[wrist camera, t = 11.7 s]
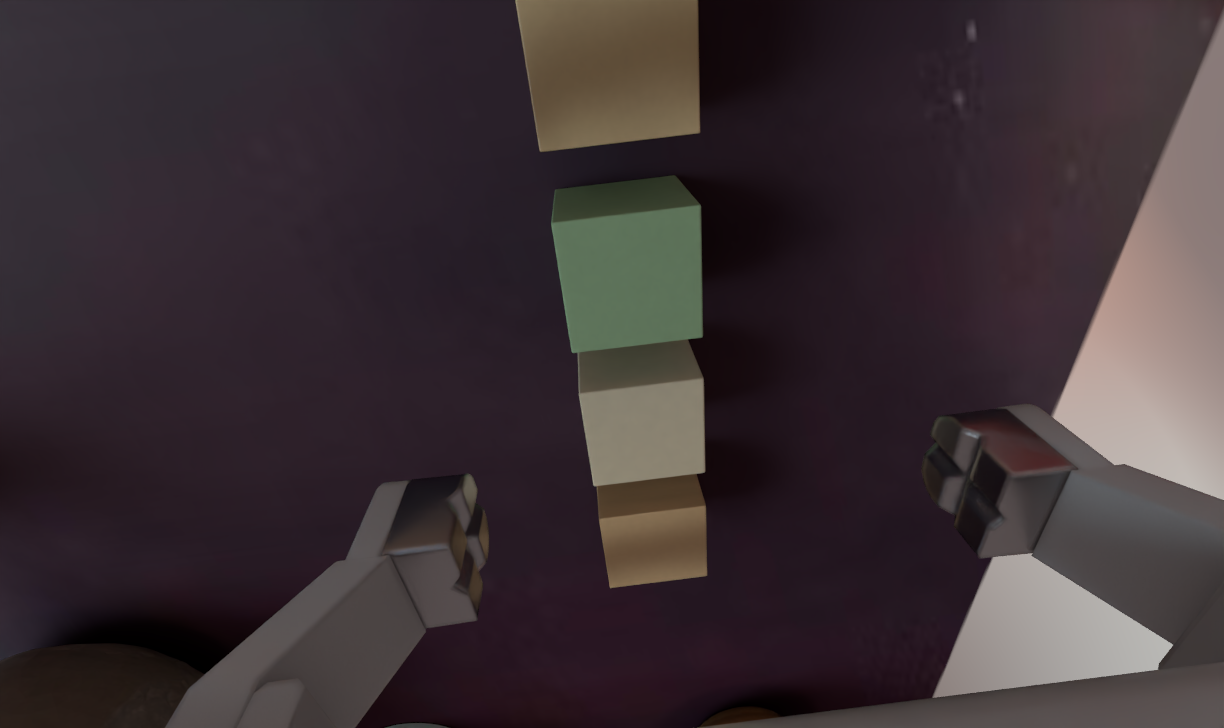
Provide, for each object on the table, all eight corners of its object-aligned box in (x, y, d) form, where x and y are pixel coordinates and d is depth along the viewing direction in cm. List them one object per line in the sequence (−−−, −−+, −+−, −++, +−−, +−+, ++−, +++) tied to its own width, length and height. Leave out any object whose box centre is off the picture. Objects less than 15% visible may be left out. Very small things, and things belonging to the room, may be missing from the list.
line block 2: (577, 335, 25) (578, 393, 21) (681, 323, 25) (704, 378, 21) (590, 420, 28) (593, 487, 23) (684, 408, 28) (705, 473, 23)
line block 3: (594, 449, 29) (598, 519, 24) (685, 438, 29) (706, 505, 25) (604, 514, 31) (610, 588, 27) (688, 504, 31) (707, 576, 27)
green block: (554, 189, 22) (550, 222, 17) (675, 174, 22) (701, 204, 17) (571, 300, 24) (571, 354, 20) (679, 287, 24) (703, 338, 20)
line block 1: (522, -27, 18) (507, -51, 14) (667, -43, 18) (697, -74, 14) (546, 131, 21) (539, 152, 16) (673, 116, 21) (700, 133, 16)
